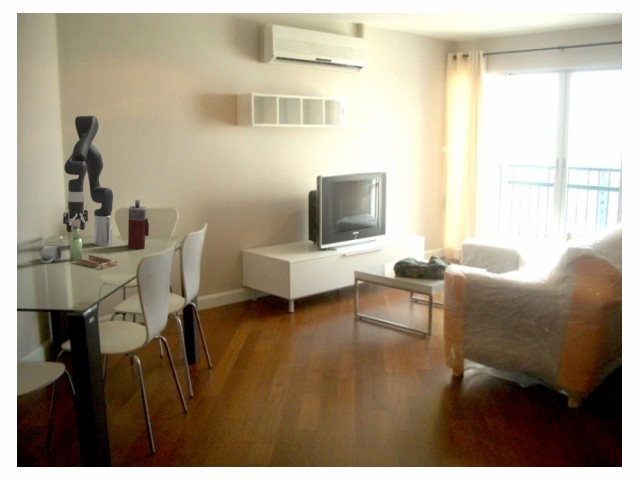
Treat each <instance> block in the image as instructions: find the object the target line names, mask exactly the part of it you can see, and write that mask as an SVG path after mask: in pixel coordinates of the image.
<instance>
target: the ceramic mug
mask: <svg viewBox="0 0 640 480" xmlns="http://www.w3.org/2000/svg"><path fill="white" fill-rule="evenodd" d="M62 253H63V251H62V248H61V247H60V246H59V245H58V246H57V245H51V246H50V245H46V246H43V247H42V248H41V250H40V257H41V258H40V261H41V263H42V264H50V263H52V262H59V261H61V259H62Z"/></svg>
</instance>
